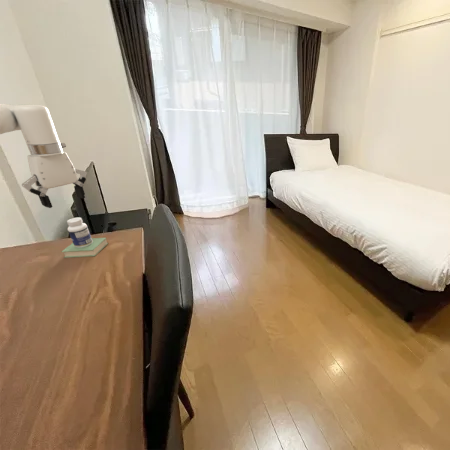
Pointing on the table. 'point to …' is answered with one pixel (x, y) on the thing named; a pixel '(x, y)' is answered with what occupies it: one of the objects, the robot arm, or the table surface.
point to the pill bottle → (79, 233)
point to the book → (86, 249)
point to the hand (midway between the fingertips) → (65, 202)
